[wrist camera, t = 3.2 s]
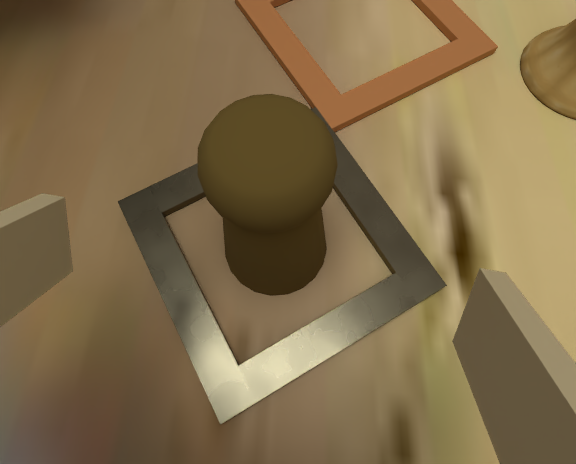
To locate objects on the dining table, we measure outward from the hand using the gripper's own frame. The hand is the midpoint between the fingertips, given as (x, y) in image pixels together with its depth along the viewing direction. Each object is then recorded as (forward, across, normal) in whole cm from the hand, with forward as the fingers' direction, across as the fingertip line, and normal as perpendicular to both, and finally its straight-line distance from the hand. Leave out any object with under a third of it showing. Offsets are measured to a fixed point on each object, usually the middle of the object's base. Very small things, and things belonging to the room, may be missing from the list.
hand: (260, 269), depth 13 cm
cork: (+10, -1, -4) cm, 11 cm away
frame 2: (+10, -1, -4) cm, 11 cm away
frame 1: (+23, +2, +9) cm, 25 cm away
